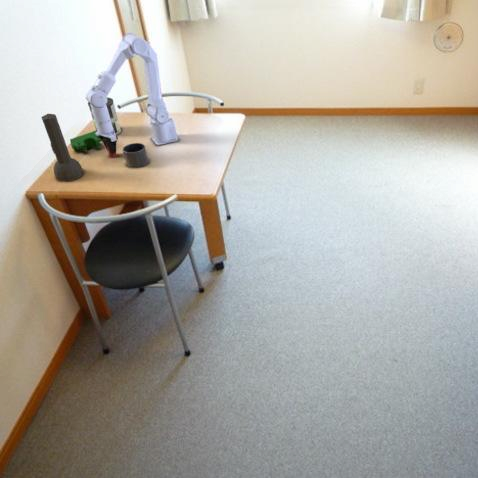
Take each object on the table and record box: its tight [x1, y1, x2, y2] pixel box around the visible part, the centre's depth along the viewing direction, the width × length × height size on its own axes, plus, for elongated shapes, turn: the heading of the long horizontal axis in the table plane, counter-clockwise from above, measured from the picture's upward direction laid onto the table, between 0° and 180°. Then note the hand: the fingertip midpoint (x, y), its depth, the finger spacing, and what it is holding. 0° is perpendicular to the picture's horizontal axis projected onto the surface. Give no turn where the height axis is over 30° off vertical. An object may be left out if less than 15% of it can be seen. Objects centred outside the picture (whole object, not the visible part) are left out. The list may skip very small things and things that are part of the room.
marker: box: [104, 137, 118, 158], centre depth 198 cm, size 3×3×8 cm
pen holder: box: [122, 142, 149, 169], centre depth 194 cm, size 8×8×6 cm
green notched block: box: [69, 130, 102, 154], centre depth 203 cm, size 12×6×9 cm, turn 130°
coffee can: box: [87, 96, 122, 136], centre depth 214 cm, size 10×10×14 cm
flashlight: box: [41, 113, 84, 182], centre depth 181 cm, size 10×25×10 cm
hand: (111, 151), depth 199 cm, fingers closed on marker, 3 cm apart
